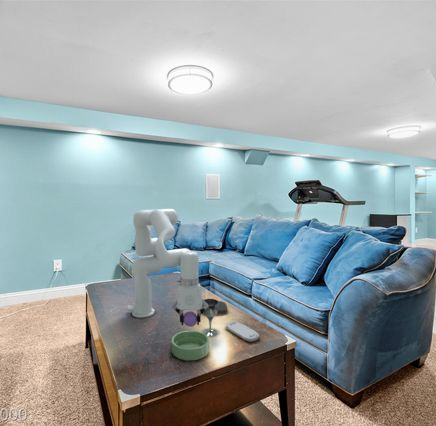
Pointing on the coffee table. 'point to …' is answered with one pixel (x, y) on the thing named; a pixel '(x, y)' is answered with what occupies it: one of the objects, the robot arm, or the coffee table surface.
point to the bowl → (190, 345)
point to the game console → (242, 331)
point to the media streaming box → (222, 308)
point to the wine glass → (210, 315)
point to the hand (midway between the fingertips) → (190, 323)
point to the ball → (190, 318)
